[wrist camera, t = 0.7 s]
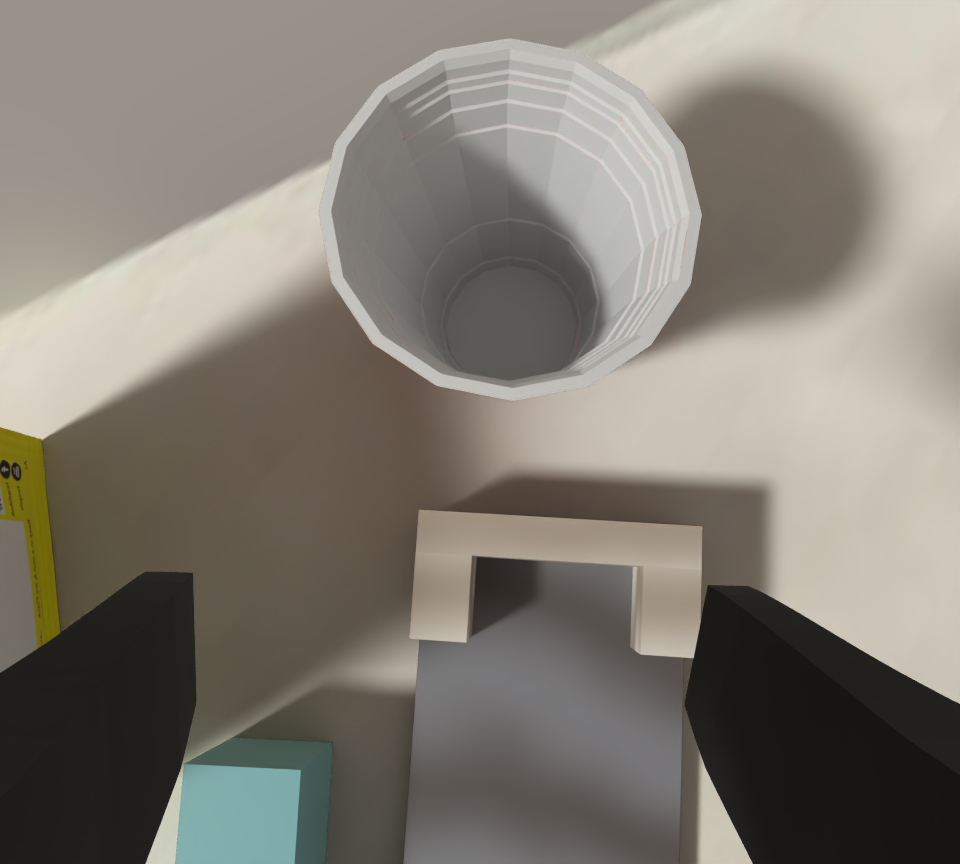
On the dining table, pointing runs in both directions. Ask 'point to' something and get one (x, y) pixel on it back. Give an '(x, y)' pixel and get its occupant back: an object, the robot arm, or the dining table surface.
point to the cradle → (549, 688)
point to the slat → (256, 803)
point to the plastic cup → (510, 219)
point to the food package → (24, 551)
